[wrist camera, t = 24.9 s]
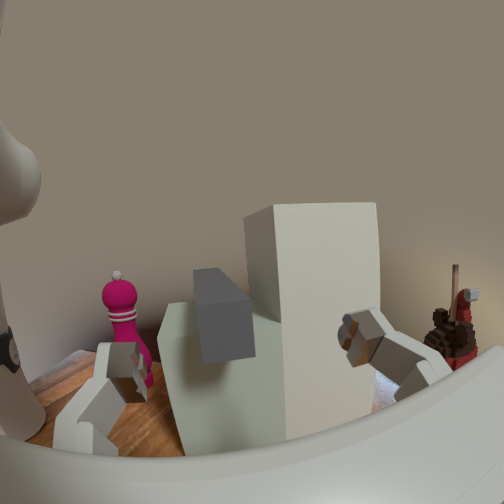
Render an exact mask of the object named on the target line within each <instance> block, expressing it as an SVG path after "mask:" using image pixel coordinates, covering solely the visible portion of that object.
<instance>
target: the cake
mask: <svg viewBox="0 0 504 504" xmlns="http://www.w3.org/2000/svg"><path fill="white" fill-rule="evenodd" d="M458 268H459V267H458V264H453V275H452V276H453V277H452V300H451V307H450V309H449V315H448V311H447V310H445V309H443V308H439V309H435V312H433V321H434V326H436V328H435V329H434V330H433V331H429V334H427V336H425V340H424V343H422V344H424V345H426V346H428V347H430V348H432V349H434V350H436V351H438V352H439V353H440V354H441V356H442V357H443V358H444V360H445V361H446V362H447V364H448V365H449V367H450V368H451V369H452V371H453V372H454V371H455V370H457V369H458V368H460V367H462V366H463V365H465V364H466V363H468V362H469V361H471V360H472V359H474V358H475V357H477V352H478V351H477V349H478V347H477V346H476V339H474V338H475V331H474V328H473V324H472V323H471V319H472V316H471V311H470V302H471V301H476V300H478V298H479V292H480V291H478V288H477V287H470V288H466V289H462V291H460V292H459V293H458Z"/></svg>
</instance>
